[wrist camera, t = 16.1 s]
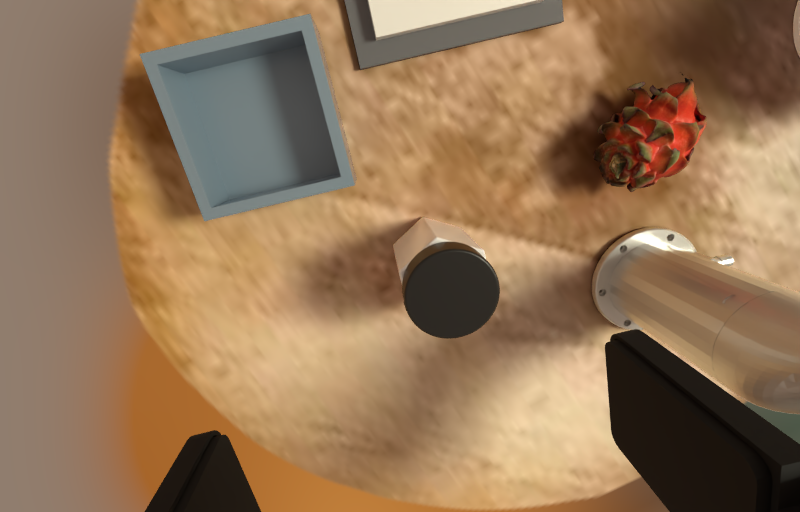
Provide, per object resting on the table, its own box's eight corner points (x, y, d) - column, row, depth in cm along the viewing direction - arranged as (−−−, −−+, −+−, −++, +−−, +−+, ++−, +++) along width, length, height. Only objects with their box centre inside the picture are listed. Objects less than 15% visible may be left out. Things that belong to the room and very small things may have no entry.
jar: (382, 278, 45) (387, 327, 33) (403, 209, 43) (415, 236, 31) (456, 296, 46) (485, 350, 35) (480, 230, 44) (519, 264, 33)
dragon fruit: (571, 181, 45) (635, 93, 44) (644, 220, 42) (715, 125, 41) (576, 148, 37) (654, 41, 36) (667, 193, 34) (755, 75, 33)
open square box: (319, 32, 37) (310, 13, 32) (356, 178, 42) (354, 185, 36) (174, 66, 37) (139, 54, 32) (227, 209, 42) (204, 221, 36)
